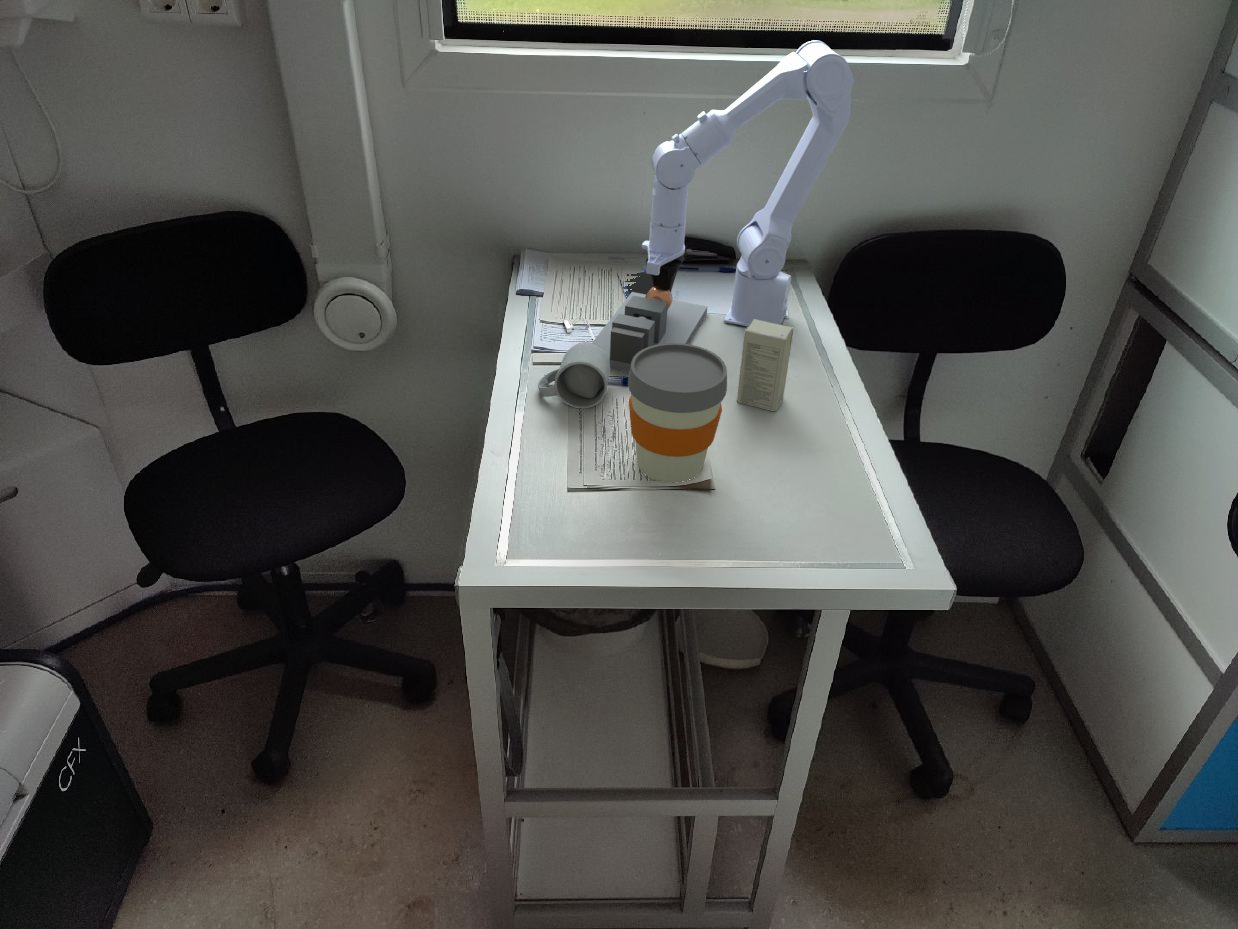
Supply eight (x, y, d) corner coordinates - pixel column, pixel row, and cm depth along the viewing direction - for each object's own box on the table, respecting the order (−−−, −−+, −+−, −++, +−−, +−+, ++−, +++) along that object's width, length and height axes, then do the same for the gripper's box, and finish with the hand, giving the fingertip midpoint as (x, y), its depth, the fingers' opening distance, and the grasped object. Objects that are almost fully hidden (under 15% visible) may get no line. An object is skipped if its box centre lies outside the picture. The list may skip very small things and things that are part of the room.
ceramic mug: (611, 381, 132) (611, 337, 127) (606, 410, 125) (607, 365, 121) (542, 377, 132) (540, 333, 128) (534, 406, 126) (532, 361, 121)
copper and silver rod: (671, 311, 146) (673, 288, 143) (649, 345, 137) (650, 320, 134) (647, 307, 147) (648, 283, 144) (623, 339, 138) (624, 315, 135)
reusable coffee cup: (605, 455, 117) (608, 359, 108) (675, 425, 123) (684, 332, 114) (663, 504, 109) (673, 405, 100) (735, 469, 115) (750, 373, 106)
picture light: (598, 348, 141) (599, 337, 139) (572, 351, 140) (572, 340, 139) (582, 309, 152) (582, 298, 150) (558, 311, 151) (557, 301, 149)
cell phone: (653, 272, 165) (654, 268, 164) (668, 305, 154) (669, 301, 154) (616, 273, 164) (616, 269, 163) (628, 306, 153) (628, 302, 152)
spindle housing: (706, 314, 151) (710, 277, 147) (667, 380, 133) (670, 340, 128) (631, 299, 154) (633, 263, 150) (582, 362, 136) (583, 322, 132)
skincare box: (783, 399, 130) (796, 326, 122) (775, 413, 127) (788, 340, 119) (743, 388, 132) (753, 316, 124) (734, 401, 129) (744, 329, 121)
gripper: (658, 201, 145) (653, 276, 153) (630, 232, 134) (626, 310, 142) (698, 208, 143) (691, 283, 151) (673, 239, 132) (666, 319, 140)
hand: (662, 297), depth 147 cm, fingers closed
